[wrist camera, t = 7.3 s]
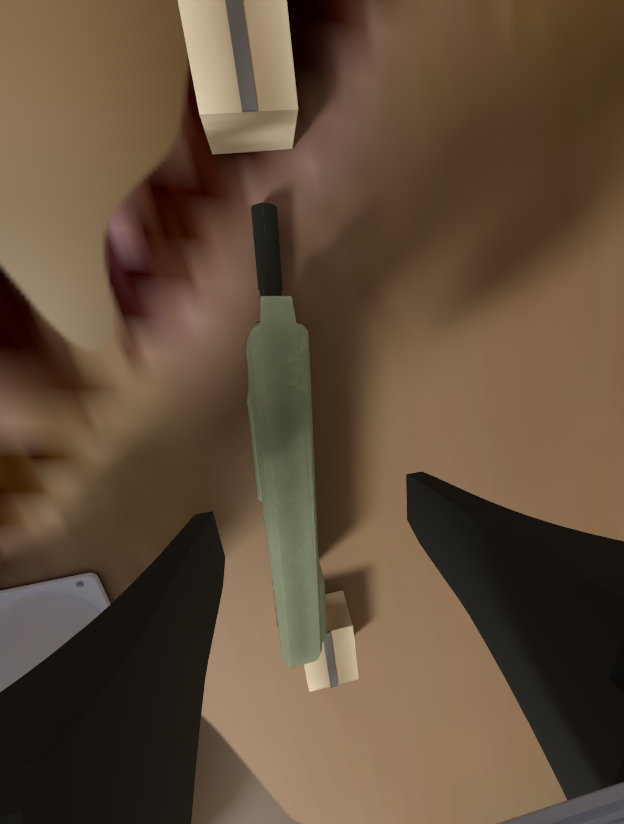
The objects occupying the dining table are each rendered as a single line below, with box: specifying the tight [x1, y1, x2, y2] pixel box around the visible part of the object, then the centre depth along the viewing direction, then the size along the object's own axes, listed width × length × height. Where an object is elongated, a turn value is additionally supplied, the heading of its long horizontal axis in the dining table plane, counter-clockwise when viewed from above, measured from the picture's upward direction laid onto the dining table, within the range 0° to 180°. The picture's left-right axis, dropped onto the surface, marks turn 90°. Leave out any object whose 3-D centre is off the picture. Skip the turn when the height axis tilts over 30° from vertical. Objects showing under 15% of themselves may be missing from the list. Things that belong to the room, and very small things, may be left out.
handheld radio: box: [246, 203, 327, 668], centre depth 17 cm, size 7×3×25 cm
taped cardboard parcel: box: [178, 0, 358, 692], centre depth 18 cm, size 4×42×3 cm, turn 7°
